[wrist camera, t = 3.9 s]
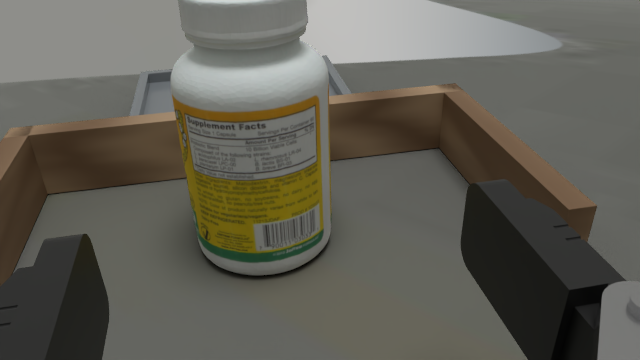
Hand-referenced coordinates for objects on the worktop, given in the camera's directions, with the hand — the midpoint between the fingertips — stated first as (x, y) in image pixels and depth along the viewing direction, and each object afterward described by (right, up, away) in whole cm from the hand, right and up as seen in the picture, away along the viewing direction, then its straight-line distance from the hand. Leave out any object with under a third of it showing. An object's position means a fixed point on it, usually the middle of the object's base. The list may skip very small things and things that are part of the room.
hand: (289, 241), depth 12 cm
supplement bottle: (-2, -1, +10) cm, 11 cm away
